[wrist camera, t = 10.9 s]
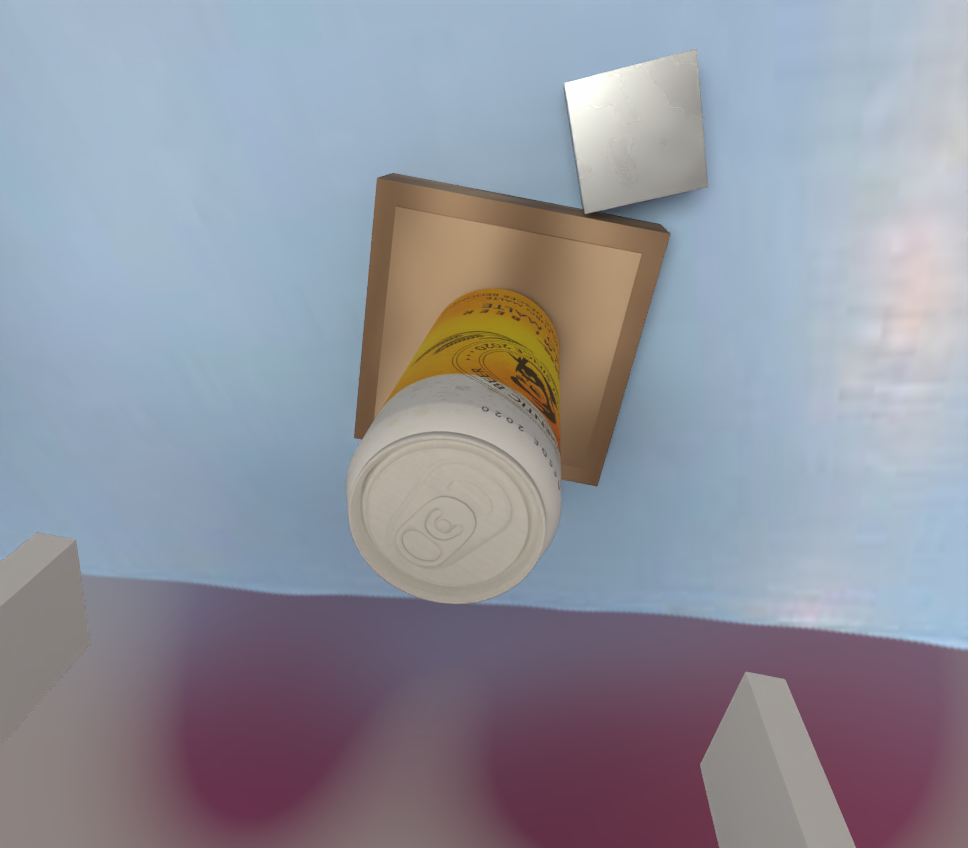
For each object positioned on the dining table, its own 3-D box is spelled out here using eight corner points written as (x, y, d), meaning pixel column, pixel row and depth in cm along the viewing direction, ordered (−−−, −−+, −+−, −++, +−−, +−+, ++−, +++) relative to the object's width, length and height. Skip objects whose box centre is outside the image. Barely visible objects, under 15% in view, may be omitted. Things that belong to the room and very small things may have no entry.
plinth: (369, 414, 36) (352, 440, 33) (393, 173, 31) (375, 178, 28) (594, 459, 36) (597, 488, 33) (660, 224, 30) (671, 234, 27)
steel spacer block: (581, 203, 30) (585, 214, 27) (563, 88, 28) (564, 83, 25) (689, 179, 30) (707, 187, 26) (678, 58, 28) (696, 48, 24)
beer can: (586, 344, 30) (611, 526, 16) (500, 429, 32) (458, 649, 19) (489, 256, 29) (429, 372, 15) (407, 350, 31) (290, 525, 17)
